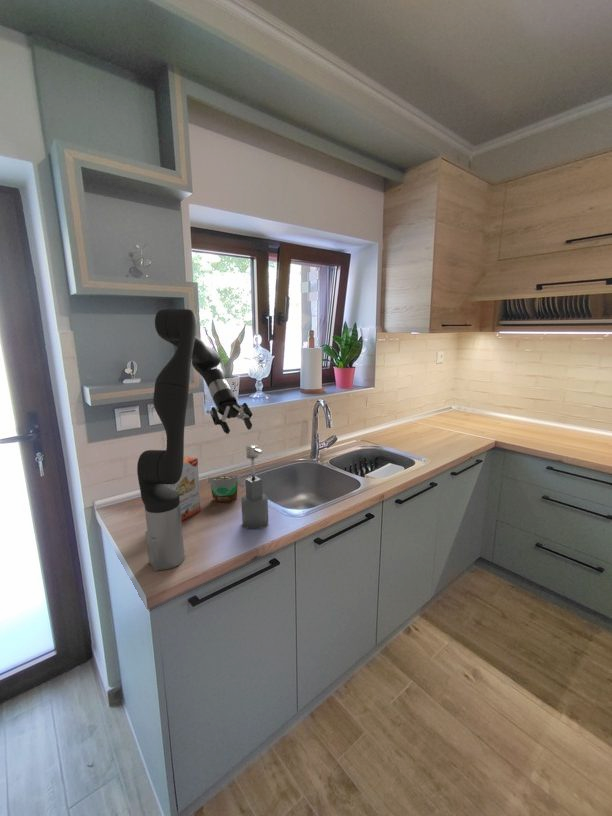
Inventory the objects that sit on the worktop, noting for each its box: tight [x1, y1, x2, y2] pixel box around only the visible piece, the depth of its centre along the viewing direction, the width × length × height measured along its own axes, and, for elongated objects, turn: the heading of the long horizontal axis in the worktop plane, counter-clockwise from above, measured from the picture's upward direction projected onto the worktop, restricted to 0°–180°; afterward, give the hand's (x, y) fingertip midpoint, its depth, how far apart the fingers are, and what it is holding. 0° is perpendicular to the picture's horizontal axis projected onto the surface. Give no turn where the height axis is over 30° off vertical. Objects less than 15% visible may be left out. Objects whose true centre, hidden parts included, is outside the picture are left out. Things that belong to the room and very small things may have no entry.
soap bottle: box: [240, 475, 269, 530], centre depth 125 cm, size 9×9×16 cm
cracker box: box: [164, 455, 201, 522], centre depth 129 cm, size 14×6×21 cm, turn 151°
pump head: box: [245, 444, 263, 480], centre depth 121 cm, size 4×7×12 cm, turn 40°
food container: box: [207, 474, 241, 505], centre depth 142 cm, size 12×6×10 cm, turn 106°
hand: (239, 430), depth 126 cm, fingers open, 8 cm apart
